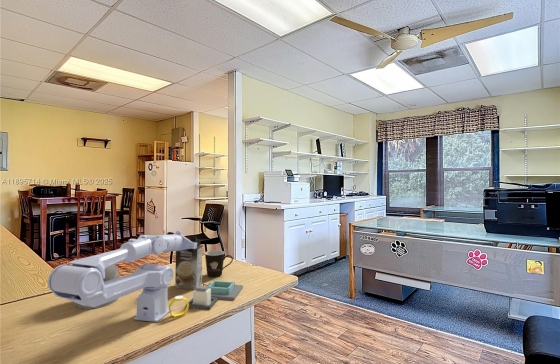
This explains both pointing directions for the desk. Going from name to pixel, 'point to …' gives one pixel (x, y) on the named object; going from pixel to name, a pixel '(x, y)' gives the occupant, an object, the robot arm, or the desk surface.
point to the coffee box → (188, 269)
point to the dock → (224, 290)
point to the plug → (202, 295)
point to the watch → (178, 298)
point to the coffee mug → (215, 263)
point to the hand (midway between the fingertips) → (190, 241)
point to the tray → (202, 305)
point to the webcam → (109, 275)
